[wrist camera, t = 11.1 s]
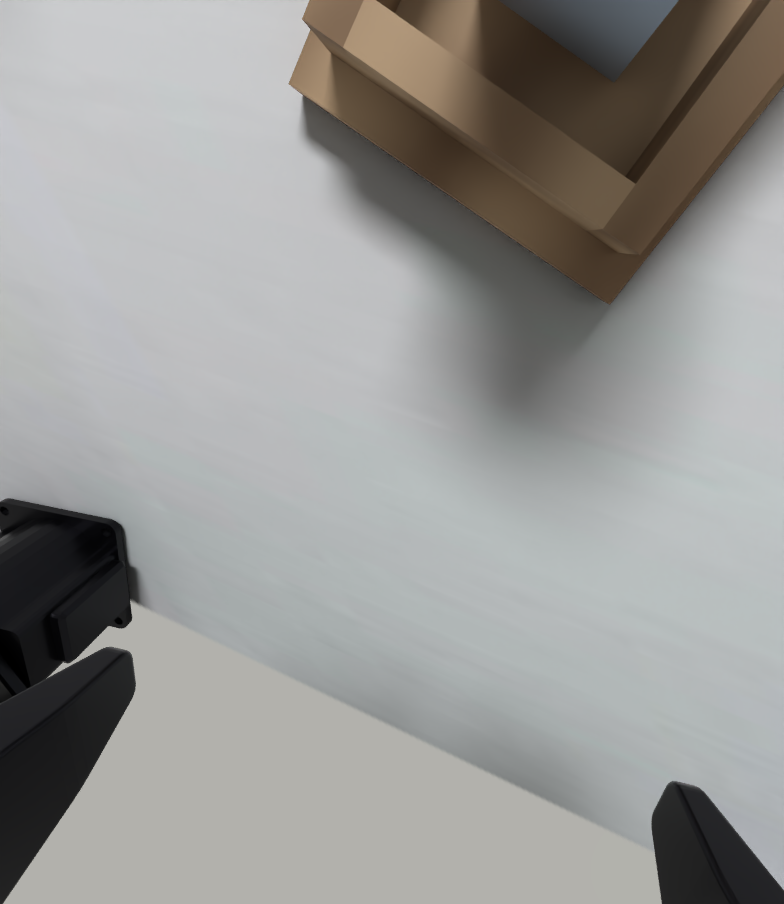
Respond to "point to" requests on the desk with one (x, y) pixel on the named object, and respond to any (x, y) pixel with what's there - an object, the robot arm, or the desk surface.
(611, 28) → the box
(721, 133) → the tray
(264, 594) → the desk surface
